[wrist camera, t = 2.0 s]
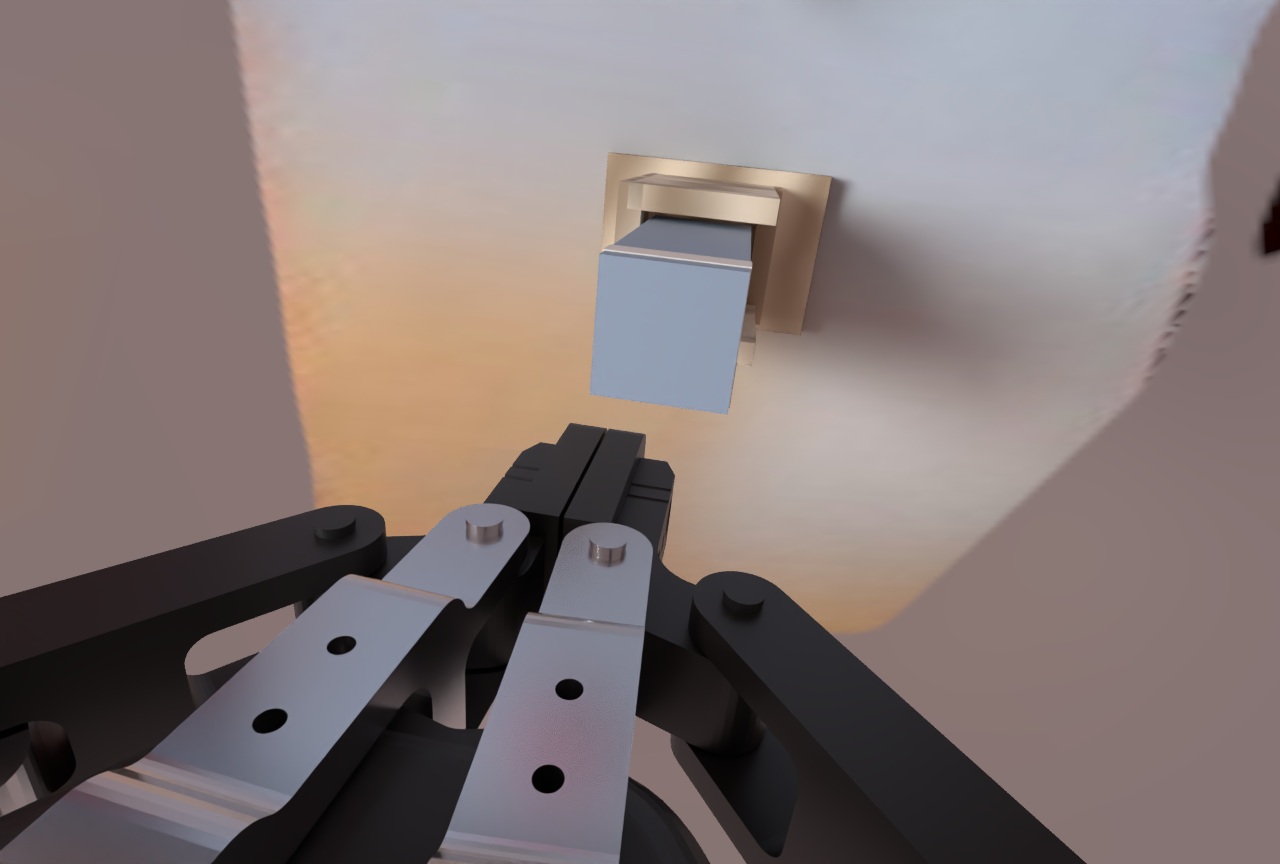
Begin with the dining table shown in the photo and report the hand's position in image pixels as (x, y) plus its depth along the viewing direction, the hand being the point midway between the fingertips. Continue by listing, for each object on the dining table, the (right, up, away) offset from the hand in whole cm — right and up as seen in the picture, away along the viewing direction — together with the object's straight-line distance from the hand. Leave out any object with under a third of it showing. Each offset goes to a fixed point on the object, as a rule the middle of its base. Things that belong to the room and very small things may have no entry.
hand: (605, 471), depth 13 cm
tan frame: (+5, +13, +31) cm, 34 cm away
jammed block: (+4, +9, +22) cm, 25 cm away
